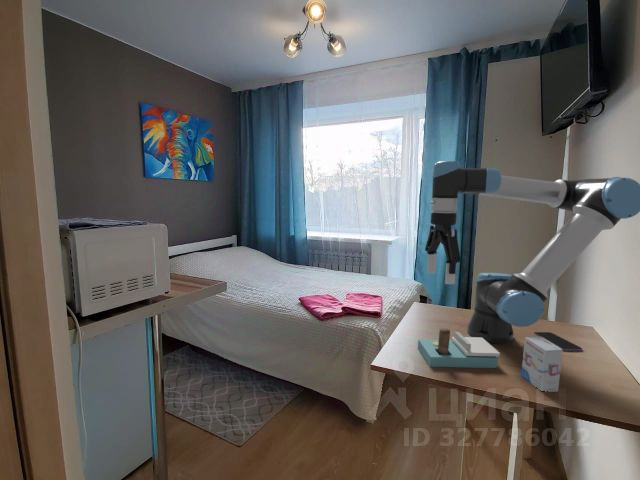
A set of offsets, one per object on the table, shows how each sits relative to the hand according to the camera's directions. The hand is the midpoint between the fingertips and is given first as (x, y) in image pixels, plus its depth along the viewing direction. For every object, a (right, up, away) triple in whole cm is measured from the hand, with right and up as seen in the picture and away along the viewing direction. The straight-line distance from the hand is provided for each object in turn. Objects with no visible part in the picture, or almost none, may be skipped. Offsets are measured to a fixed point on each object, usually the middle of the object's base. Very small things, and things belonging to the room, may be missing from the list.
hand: (439, 278), depth 109 cm
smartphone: (+45, -24, +11) cm, 53 cm away
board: (+4, -24, -3) cm, 25 cm away
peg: (-1, -25, -5) cm, 25 cm away
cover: (+10, -21, -3) cm, 24 cm away
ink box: (+21, -27, -16) cm, 38 cm away
